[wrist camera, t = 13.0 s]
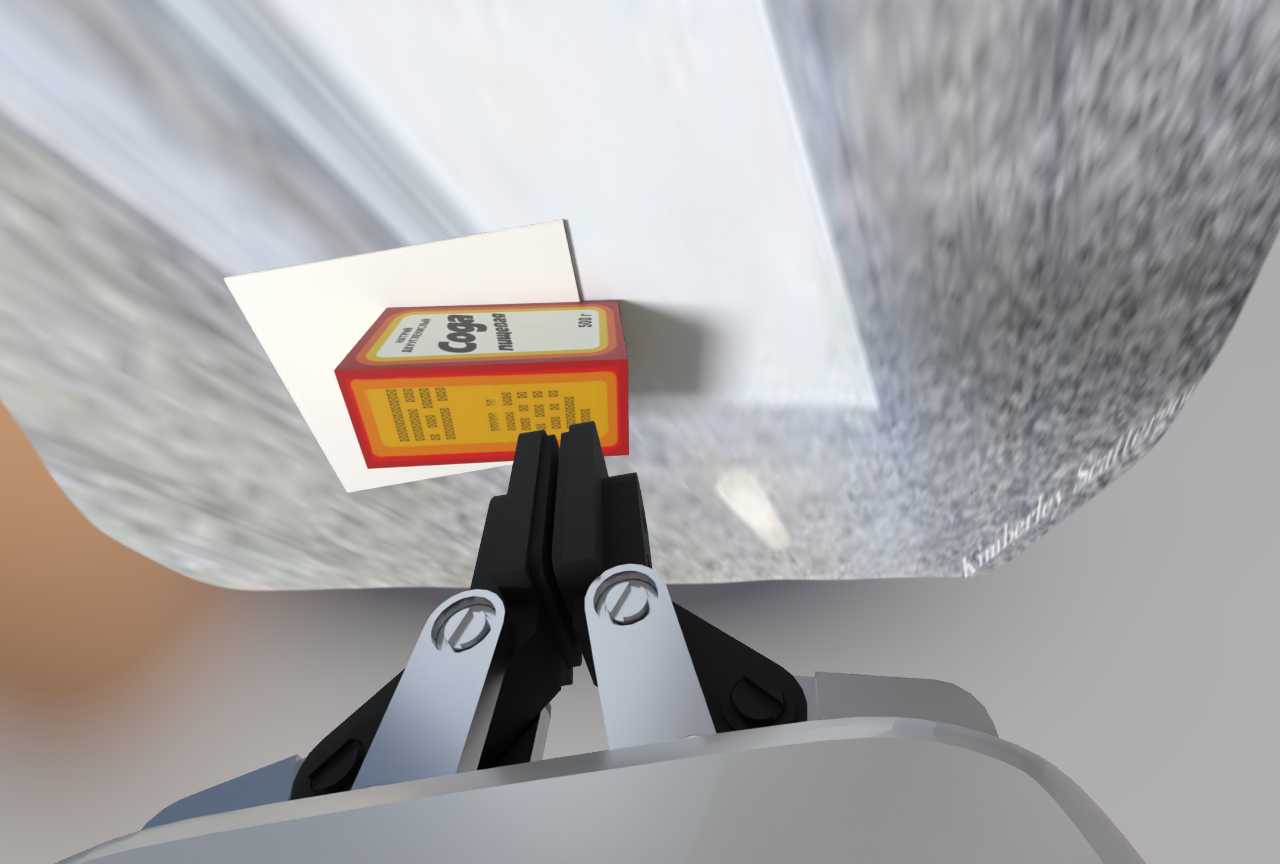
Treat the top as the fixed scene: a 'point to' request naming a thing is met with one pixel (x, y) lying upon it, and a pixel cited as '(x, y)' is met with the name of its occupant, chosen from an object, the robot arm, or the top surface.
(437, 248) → the mat
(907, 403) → the top surface
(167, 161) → the top surface
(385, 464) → the baking soda box
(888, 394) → the top surface
